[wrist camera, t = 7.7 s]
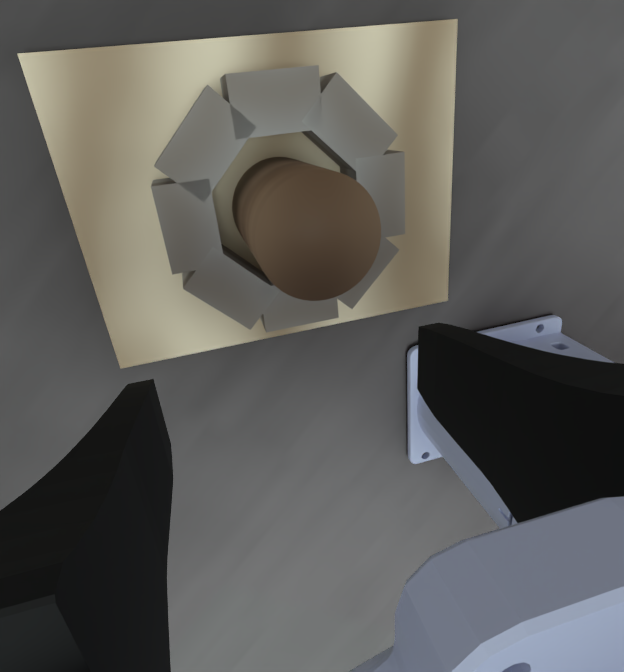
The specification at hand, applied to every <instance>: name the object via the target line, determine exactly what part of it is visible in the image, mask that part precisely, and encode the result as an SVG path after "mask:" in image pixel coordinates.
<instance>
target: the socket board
mask: <svg viewBox="0 0 624 672" xmlns="http://www.w3.org/2000/svg"><path fill="white" fill-rule="evenodd" d="M457 21H458V19H452V20H439V21H426V22H413V23H401V24H388V25H375V26H363V27H350V28H337V29H325V30H312V31H299V32H286V33H274V34H261V35H248V36H236V37H223V38H210V39H198V40H185V41H172V42H159V43H147V44H134V45H121V46H109V47H96V48H83V49H71V50H58V51H45V52H32V53H20V54H18V57H19V60H20V63H21V66H22V69H23V73H24V76H25V79H26V82H27V85H28V88H29V91H30V94H31V97H32V100H33V103H34V106H35V109H36V112H37V115H38V118H39V121H40V124H41V127H42V130H43V134H44V137H45V140H46V143H47V146H48V149H49V152H50V155H51V158H52V161H53V164H54V167H55V170H56V173H57V176H58V179H59V182H60V185H61V188H62V191H63V194H64V198H65V201H66V204H67V207H68V210H69V213H70V216H71V219H72V222H73V225H74V228H75V231H76V234H77V237H78V240H79V243H80V246H81V249H82V252H83V255H84V258H85V262H86V265H87V268H88V271H89V274H90V277H91V280H92V283H93V286H94V289H95V292H96V295H97V298H98V301H99V304H100V307H101V310H102V313H103V316H104V319H105V323H106V326H107V329H108V332H109V335H110V338H111V341H112V344H113V347H114V350H115V353H116V356H117V359H118V362H119V365H120V368H126V367H131V366H136V365H141V364H145V363H150V362H155V361H160V360H165V359H169V358H174V357H179V356H184V355H189V354H194V353H198V352H203V351H208V350H213V349H218V348H222V347H227V346H232V345H237V344H242V343H247V342H251V341H256V340H261V339H266V338H271V337H276V336H280V335H285V334H290V333H295V332H300V331H304V330H309V329H314V328H319V327H324V326H329V325H333V324H338V323H343V322H348V321H353V320H357V319H362V318H367V317H372V316H377V315H382V314H386V313H391V312H396V311H401V310H406V309H410V308H415V307H420V306H425V305H430V304H435V303H439V302H444V301H448V278H449V250H450V221H451V193H452V164H453V135H454V107H455V78H456V49H457ZM272 157H287V158H292V159H295V160H299V161H302V162H306V163H309V164H312V165H316V166H319V167H323V168H326V169H329V170H333V171H336V172H339V173H342V174H345V175H347V176H349V177H351V178H353V179H354V180H356V181H357V182H358V183H360V184H361V185H362V186H363V187H364V188H365V189H366V190H367V192H368V193H369V194H370V196H371V197H372V199H373V201H374V202H375V204H376V207H377V210H378V213H379V217H380V222H381V240H380V246H379V250H378V253H377V256H376V258H375V261H374V263H373V265H372V267H371V268H370V270H369V271H368V273H367V274H366V275H365V276H364V278H363V279H362V280H361V281H360V282H359V283H358V284H357V285H356V286H354V287H353V288H351V289H350V290H349V291H347V292H345V293H343V294H342V295H339V296H337V297H334V298H331V299H327V300H321V301H308V300H302V299H298V298H294V297H292V296H289V295H288V294H286V293H284V292H282V291H281V290H280V289H278V288H277V287H276V286H275V285H274V284H273V283H272V282H271V281H270V280H269V279H268V277H267V276H266V275H265V273H264V272H263V270H262V268H261V267H260V265H259V263H258V262H257V260H256V259H255V257H254V255H253V254H252V252H251V251H250V249H249V247H248V246H247V244H246V242H245V241H244V239H243V238H242V236H241V234H240V233H239V231H238V229H237V227H236V225H235V222H234V218H233V212H232V200H233V195H234V191H235V188H236V186H237V183H238V182H239V180H240V178H241V177H242V176H243V174H244V173H245V172H246V171H247V170H248V169H249V168H250V167H251V166H253V165H254V164H256V163H258V162H259V161H262V160H264V159H267V158H272Z"/></svg>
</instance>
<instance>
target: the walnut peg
mask: <svg viewBox="0 0 624 672" xmlns="http://www.w3.org/2000/svg"><path fill="white" fill-rule="evenodd" d="M232 212H233V218H234V222H235V225H236V227H237V229H238V231H239V233H240V234H241V236H242V238H243V239H244V241H245V242H246V244H247V246H248V247H249V249H250V251H251V252H252V254H253V255H254V257H255V259H256V260H257V262H258V263H259V265H260V267H261V268H262V270H263V272H264V273H265V275H266V276H267V277H268V279H269V280H270V281H271V282H272V283H273V284H274V285H275V286H276V287H277V288H278V289H280V290H281V291H282V292H284V293H286V294H288V295H289V296H292V297H294V298H298V299H302V300H308V301H321V300H327V299H331V298H334V297H337V296H339V295H342V294H343V293H345V292H347V291H349V290H350V289H351V288H353V287H354V286H356V285H357V284H358V283H359V282H360V281H361V280H362V279H363V278H364V276H365V275H366V274H367V273H368V271H369V270H370V268H371V267H372V265H373V263H374V261H375V258H376V256H377V253H378V250H379V246H380V240H381V222H380V217H379V213H378V210H377V207H376V204H375V202H374V201H373V199H372V197H371V196H370V194H369V193H368V192H367V190H366V189H365V188H364V187H363V186H362V185H361V184H360V183H358V182H357V181H356V180H354V179H353V178H351V177H349V176H347V175H345V174H342V173H339V172H336V171H333V170H329V169H326V168H323V167H319V166H316V165H312V164H309V163H306V162H302V161H299V160H295V159H292V158H287V157H272V158H267V159H264V160H262V161H259V162H258V163H256V164H254V165H253V166H251V167H250V168H249V169H248V170H247V171H246V172H245V173H244V174H243V176H242V177H241V178H240V180H239V182H238V183H237V186H236V188H235V191H234V195H233V200H232Z"/></svg>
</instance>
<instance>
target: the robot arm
mask: <svg viewBox="0 0 624 672" xmlns="http://www.w3.org/2000/svg"><path fill="white" fill-rule="evenodd" d="M538 325H539V327H538V328H537V326H538ZM561 327H562V319H561V318H560V317H558V316H556V315H549V316H545V317H540V318H536V319H531V320H527V321H523V322H518V323H514V324H509V325H505V326H500V327H496V328H491V329H487V330H482V331H478V332H474V331H471V330H467V329H464V328H460V327H456V326H453V325H448V324H443V323H435V324H430V325H425V326H420V327H419V333H418V345H416V346H413V347H412V348H410V349H409V351H408V354H407V404H408V458H409V460H410V461H411V462H412V463H414V464H418V463H421V462H425V461H429V460H432V459H436V458H439V457H443V458H444V459H445V460H446V462H447V463H448V464H449V465H450V467H451V468H452V469H453V470H454V472H455V473H456V474H457V475H458V477H459V478H460V479H461V480H462V482H463V483H464V484H465V485H466V487H467V488H468V489H469V490H470V492H471V493H472V494H473V495H474V497H475V498H476V499H477V500H478V502H479V503H480V504H481V505H482V507H483V508H484V509H485V510H486V512H487V513H488V514H489V515H490V517H491V518H492V519H493V521H494V522H495V523H496V524H497V526H498V527H499V528H500V529H497V530H494V531H491V532H488V533H484V534H481V535H478V536H474V537H471V538H468V539H464V540H462V541H460V542H458V543H456V544H454V545H452V546H450V547H448V548H446V549H444V550H442V551H440V552H438V553H436V554H434V555H432V556H430V557H429V558H428V559H427V560H426V561H425V562H424V563H423V564H422V565H421V566H420V567H419V568H418V569H417V570H416V571H415V572H414V574H413V575H412V576H411V577H410V578H409V579H408V580H407V581H406V584H405V586H404V589H403V592H402V594H401V597H400V600H399V603H398V606H397V609H396V612H395V642H394V646H392V647H390V648H388V649H387V650H385V651H383V652H381V653H380V654H378V655H376V656H374V657H373V658H371V659H369V660H368V661H366V662H364V663H362V664H361V665H359V666H357V667H355V668H354V669H352V670H350V671H349V672H624V364H619V363H615V362H613V361H611V360H609V359H607V358H606V357H604V356H602V355H600V354H598V353H597V352H595V351H593V350H591V349H589V348H587V347H586V346H584V345H582V344H580V343H578V342H577V341H575V340H573V339H571V338H569V337H568V336H566V335H564V334H562V333H561ZM536 328H537V329H536ZM425 452H426V453H425ZM423 453H425V454H423ZM422 454H423V455H422ZM172 488H173V467H172V452H171V443H170V439H169V435H168V432H167V428H166V424H165V421H164V417H163V413H162V410H161V406H160V402H159V398H158V395H157V391H156V387H155V384H154V380H153V379H151V380H146V381H141V382H136V383H131V384H128V385H127V386H126V387H125V388H124V389H123V390H122V392H121V393H120V394H119V395H118V397H117V398H116V399H115V401H114V402H113V403H112V404H111V406H110V407H109V408H108V409H107V411H106V412H105V413H104V414H103V415H102V417H101V418H100V419H99V420H98V421H97V423H96V424H95V425H94V426H93V427H92V429H91V430H90V431H89V432H88V433H87V434H86V435H85V436H84V437H83V438H82V439H81V440H80V441H79V443H78V444H77V445H76V446H75V447H74V448H73V449H72V450H71V451H70V452H69V453H68V454H67V455H66V456H65V457H64V458H63V459H62V460H61V461H60V462H59V463H58V464H57V465H56V466H55V467H54V468H53V469H52V470H50V471H49V472H48V473H47V474H46V475H45V476H44V477H42V478H41V479H40V480H39V481H38V482H37V483H36V484H34V485H33V486H32V487H31V488H30V489H28V490H27V491H26V492H25V493H23V494H22V495H21V496H19V497H18V498H17V499H15V500H14V501H13V502H11V503H10V504H9V505H7V506H6V507H5V508H3V509H2V510H1V511H0V672H171V670H170V649H169V627H168V600H167V555H168V542H169V529H170V516H171V502H172Z"/></svg>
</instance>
